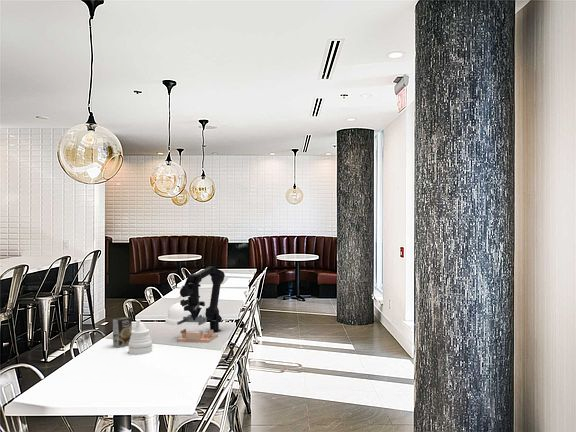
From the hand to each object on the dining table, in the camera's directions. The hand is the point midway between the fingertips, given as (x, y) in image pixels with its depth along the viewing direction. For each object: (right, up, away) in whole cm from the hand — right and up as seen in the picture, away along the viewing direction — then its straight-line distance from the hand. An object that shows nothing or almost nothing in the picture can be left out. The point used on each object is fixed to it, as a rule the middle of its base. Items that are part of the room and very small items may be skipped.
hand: (194, 319), depth 346 cm
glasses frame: (-1, -1, -4) cm, 4 cm away
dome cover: (-15, -12, +54) cm, 57 cm away
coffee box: (-40, -12, -17) cm, 45 cm away
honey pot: (-25, -12, -33) cm, 43 cm away
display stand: (+2, -11, -5) cm, 12 cm away
